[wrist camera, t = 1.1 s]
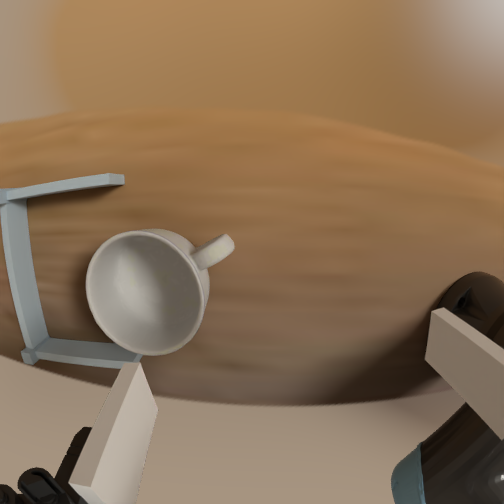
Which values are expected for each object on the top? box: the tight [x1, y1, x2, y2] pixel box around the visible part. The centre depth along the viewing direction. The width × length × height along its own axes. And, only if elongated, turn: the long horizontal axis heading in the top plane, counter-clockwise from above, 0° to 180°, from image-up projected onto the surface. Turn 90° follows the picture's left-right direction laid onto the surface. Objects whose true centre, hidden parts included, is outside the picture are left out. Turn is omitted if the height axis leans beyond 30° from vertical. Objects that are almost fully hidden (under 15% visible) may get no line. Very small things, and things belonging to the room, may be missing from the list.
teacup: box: [86, 229, 234, 356], centre depth 27 cm, size 14×11×8 cm
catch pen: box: [0, 173, 143, 369], centre depth 28 cm, size 15×21×5 cm
